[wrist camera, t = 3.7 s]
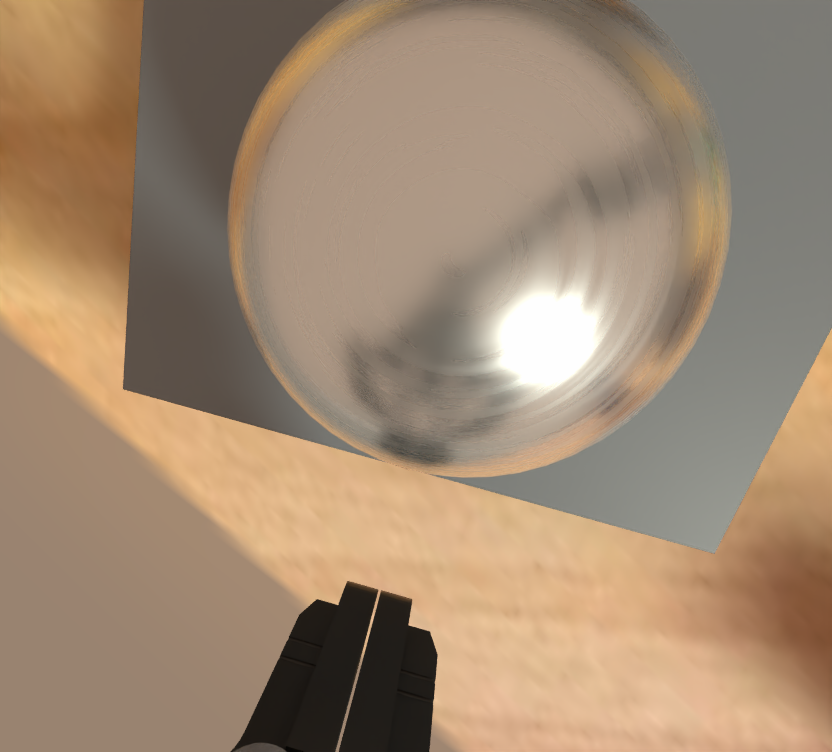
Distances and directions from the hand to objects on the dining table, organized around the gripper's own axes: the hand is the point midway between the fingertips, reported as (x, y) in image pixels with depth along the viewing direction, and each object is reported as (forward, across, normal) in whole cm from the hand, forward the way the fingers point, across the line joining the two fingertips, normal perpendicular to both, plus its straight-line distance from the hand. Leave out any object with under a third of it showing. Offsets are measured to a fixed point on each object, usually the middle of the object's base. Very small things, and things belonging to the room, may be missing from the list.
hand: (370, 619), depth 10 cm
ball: (-2, 0, -8) cm, 8 cm away
